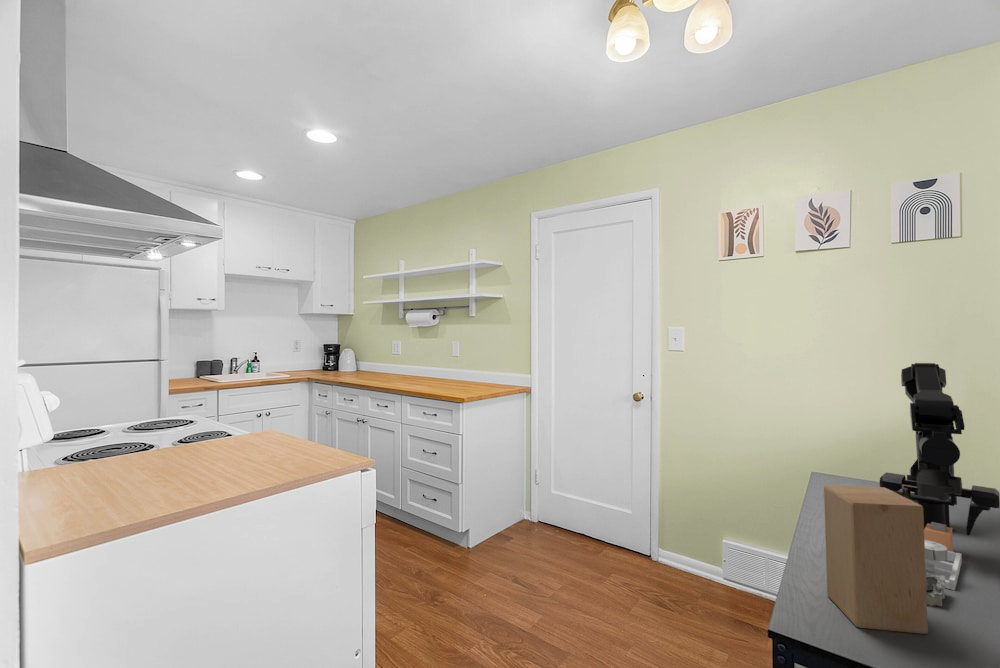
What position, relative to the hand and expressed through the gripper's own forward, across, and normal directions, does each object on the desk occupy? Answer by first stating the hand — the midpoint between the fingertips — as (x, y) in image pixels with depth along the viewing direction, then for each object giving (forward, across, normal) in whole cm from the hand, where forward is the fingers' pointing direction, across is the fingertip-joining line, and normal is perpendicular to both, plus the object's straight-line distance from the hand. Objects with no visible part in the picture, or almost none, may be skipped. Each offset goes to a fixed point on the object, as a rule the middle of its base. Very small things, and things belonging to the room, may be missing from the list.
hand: (938, 528), depth 101 cm
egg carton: (+5, -2, -26) cm, 26 cm away
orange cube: (+5, 0, 0) cm, 5 cm away
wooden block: (+5, -5, -40) cm, 40 cm away
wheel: (+1, 0, -16) cm, 16 cm away
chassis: (+5, 0, -12) cm, 13 cm away
